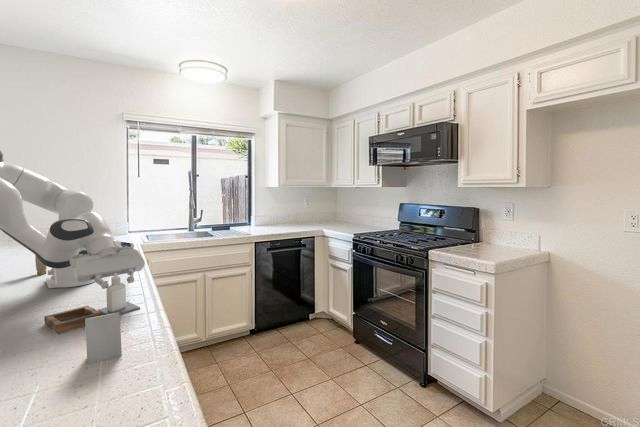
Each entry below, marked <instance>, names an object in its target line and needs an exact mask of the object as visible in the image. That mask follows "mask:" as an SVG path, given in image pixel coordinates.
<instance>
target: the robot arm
mask: <svg viewBox="0 0 640 427" xmlns="http://www.w3.org/2000/svg"><path fill="white" fill-rule="evenodd" d="M3 157H4V154H3V152H2V150H1V149H0V230H1V232H3V233H4V234H6V236H8V237H9V238H11V239H13V241H16V242H17V243H18V244H19V245H21V246H22V247H24V248H25V249H27V250H28V251H30V252H31V253H33V255H36V256H37V257H38V258H39V260H40V261H41V262H42V263H43V264H44V265H46V267H48V268H50V269H48V270H47V275H48V276H51V277H48V278H46V279H45V283H46V285H47V288H48V289H55V288H56V289H57V288H74V287H79V286H85V285H89V284H93V283H96V284H97V285H99V286H100V287H101V289H102V290H105V289H107V288H108V287H109V286H110V285H109V282H108V280H103V279H105V278H109V277H114V273H117V275H118V276H119V275H124V274H127V275H128V277H127V278H126V282H127V284H132V283H134V282H135V278H134V273H137V272H141V271H142V270H143V268H144V267H145V265H146V261H145V259H144V257H143V256H142V254H141V252H140V251H139V250H138V249H136V248H135V244H134V243H133V242H129V241H122V240H116V238H114V236H113V235H112V231H111V228H110V226H109V224H108V223H107V221H106V220H105V218H104V217H103V216H102V215H100V214H99V213H96V212H93V208H94V202H93V198H91V197H90V196H89V195H88V194H87V193H85V192H84V191H80V190H72V189H69V188H66V187H64V186H62V185H60V184H59V183H56V182H54V181H52V180H50V179H49V178H47V177H45V176H42V175H41V174H39V173H36V172H33V171H32V170H29V169H27V168H25V167H22V166H20V165H17V164H14V163H12V162H10V161H5V159H4V158H3ZM23 201H24V202H27V203H30V204H31V205H34V206H36V207H39V208H42V209H44V210H47V211H49V212H52V213H54V214H57V215H58V220H56V221H54V222H53V223H51V225H50V227H49V228H48V229H49V230H48V232H47V235H45V234H44V233H42V232H41V231H40V230H38V229H37V228H35V227H34V226H33V225H31V223H30V222H29V221H28V219H27V217H26V215H25V214H26V213H25V211H24V204H23Z"/></svg>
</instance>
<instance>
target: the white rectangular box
mask: <svg viewBox="0 0 640 427" xmlns="http://www.w3.org/2000/svg"><path fill="white" fill-rule="evenodd" d="M84 328H85V344H86V345H85V346H86V360H87V363H86V364H87V365H89V364H93V363H97V362H100V361H105V360H110V359H113V358H116V357H120V356H123V351H122V333H121V330H122V329H121V320H120V315H119V313H113V314H108V315H104V314H102V316H97V317H92V318H86V319H85V326H84Z"/></svg>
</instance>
